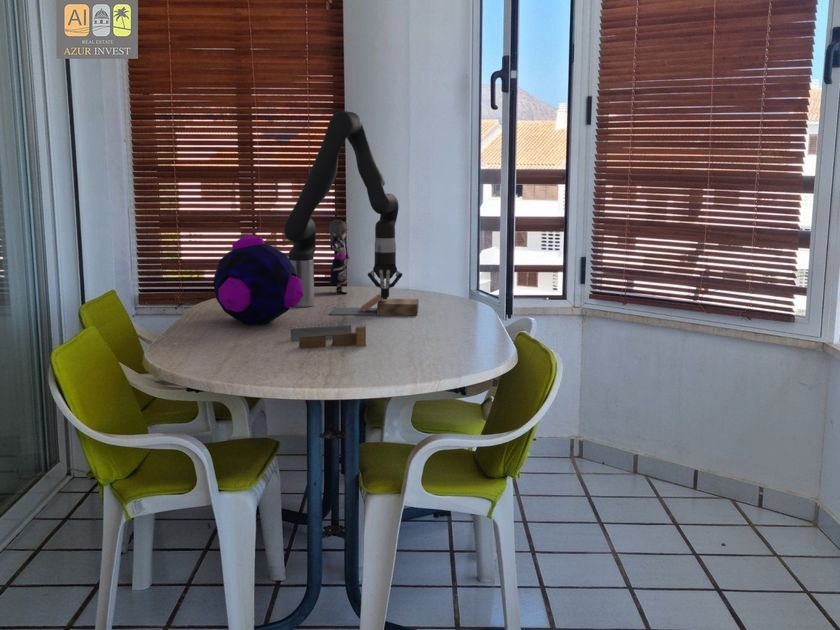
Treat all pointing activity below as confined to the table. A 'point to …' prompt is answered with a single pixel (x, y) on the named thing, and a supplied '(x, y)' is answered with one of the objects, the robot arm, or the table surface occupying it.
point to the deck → (398, 307)
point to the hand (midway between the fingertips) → (385, 298)
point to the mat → (352, 311)
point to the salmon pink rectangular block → (371, 302)
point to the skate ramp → (329, 335)
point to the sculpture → (256, 282)
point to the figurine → (338, 255)
